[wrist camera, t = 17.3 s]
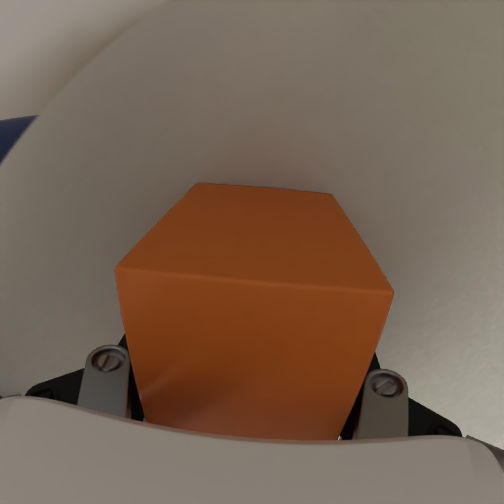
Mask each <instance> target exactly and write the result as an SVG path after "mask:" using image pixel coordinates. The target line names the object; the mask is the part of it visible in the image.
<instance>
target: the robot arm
mask: <svg viewBox="0 0 504 504" xmlns="http://www.w3.org/2000/svg"><path fill="white" fill-rule="evenodd" d="M339 436H340V438H339V440H323V441H319V440H280V439H262V438H249V437H238V436H229V435H220V434H212V433H204V432H197V431H191V430H184V429H178V428H172V427H167V426H161V425H156V424H151V423H146V419H145V415H144V412H143V408H142V405H141V401H140V397H139V393H138V389H137V385H136V381H135V377H134V373H133V368H132V364H131V359H130V355H129V350H128V345H127V340H126V335H125V334H124V336H123V337H122V339H121V341H120V342H119V344H118V345H111V344H110V345H103V346H100V347H97V348H96V349H94V350H93V351H92V352H91V353H90V354H89V355H88V357H87V360H86V364H85V368H83V369H80V370H77V371H75V372H72V373H69V374H66V375H63V376H60V377H57V378H54V379H51V380H48V381H45V382H42V383H39V384H37V385H35V386H33V387H32V388H30V389H29V390H28V391H27V393H26V394H25V396H21V394H16V395H12V396H7V397H3V398H0V504H504V450H502V449H500V448H497V447H495V446H492V445H490V444H488V443H485V442H483V441H481V440H478V439H476V438H474V437H471V436H469V435H467V436H466V437H465V438H464V437H462V433H461V431H460V429H459V428H458V427H457V425H455V424H454V423H453V422H451V421H449V420H448V419H446V418H444V417H442V416H441V415H439V414H437V413H435V412H433V411H432V410H430V409H428V408H426V407H425V406H423V405H421V404H420V403H418V402H416V401H414V400H413V399H411V398H409V397H408V386H407V382H406V381H405V379H404V378H403V377H402V376H401V375H400V374H398V373H396V372H394V371H392V370H388V369H381V368H380V365H379V362H378V359H377V356H376V353H375V352H374V355H373V358H372V360H371V363H370V366H369V368H368V371H367V373H366V376H365V378H364V381H363V383H362V386H361V388H360V391H359V393H358V395H357V398H356V400H355V402H354V405H353V407H352V409H351V412H350V414H349V416H348V418H347V420H346V423H345V425H344V427H343V429H342V431H341V433H340V435H339Z"/></svg>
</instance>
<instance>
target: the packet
mask: <svg viewBox="0 0 504 504" xmlns="http://www.w3.org/2000/svg"><path fill="white" fill-rule="evenodd" d="M115 275H116V282H117V289H118V296H119V302H120V308H121V314H122V319H123V325H124V330H125V335H126V340H127V345H128V350H129V355H130V359H131V364H132V368H133V373H134V377H135V381H136V385H137V389H138V393H139V397H140V401H141V405H142V408H143V412H144V415H145V419H146V422H147V423H151V424H156V425H161V426H167V427H172V428H178V429H184V430H191V431H197V432H204V433H212V434H220V435H229V436H238V437H249V438H262V439H280V440H319V441H323V440H338V437H339V435H340V433H341V431H342V429H343V427H344V425H345V423H346V420H347V418H348V416H349V414H350V412H351V409H352V407H353V405H354V402H355V400H356V398H357V395H358V393H359V391H360V388H361V386H362V383H363V381H364V378H365V376H366V373H367V371H368V368H369V366H370V363H371V360H372V358H373V355H374V352H375V350H376V347H377V344H378V341H379V338H380V335H381V333H382V330H383V327H384V324H385V321H386V318H387V315H388V311H389V308H390V305H391V302H392V299H393V295H394V291H393V289H392V287H391V286H390V284H389V282H388V281H387V279H386V277H385V276H384V274H383V272H382V271H381V269H380V267H379V266H378V264H377V263H376V261H375V259H374V258H373V256H372V255H371V253H370V251H369V250H368V248H367V247H366V245H365V244H364V242H363V240H362V239H361V237H360V236H359V234H358V233H357V231H356V230H355V228H354V227H353V225H352V224H351V222H350V221H349V219H348V218H347V216H346V215H345V213H344V212H343V210H342V209H341V207H340V206H339V205H338V203H337V202H336V200H335V199H334V197H333V196H332V195H331V194H326V193H317V192H307V191H297V190H286V189H275V188H263V187H251V186H237V185H222V184H205V183H197V184H196V185H195V186H194V187H193V188H192V189H191V190H190V191H189V192H188V193H187V194H186V195H185V196H184V197H183V198H181V199H180V200H179V201H178V202H177V203H176V204H175V205H174V206H173V207H172V208H171V209H170V210H169V211H168V212H167V213H166V214H165V215H164V216H163V217H162V218H161V219H160V220H159V221H158V222H157V224H156V225H155V226H154V227H153V228H152V229H151V230H150V231H149V232H148V233H147V234H146V235H145V236H144V237H143V238H142V239H141V240H140V241H139V242H138V243H137V244H136V245H135V246H134V248H133V249H132V250H131V251H130V252H129V253H128V254H127V255H126V256H125V257H124V258H123V259H122V260H121V262H120V263H119V264H118V265H117V266H116V268H115Z"/></svg>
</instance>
